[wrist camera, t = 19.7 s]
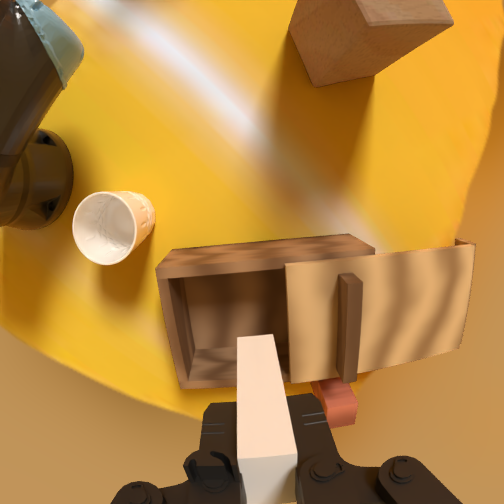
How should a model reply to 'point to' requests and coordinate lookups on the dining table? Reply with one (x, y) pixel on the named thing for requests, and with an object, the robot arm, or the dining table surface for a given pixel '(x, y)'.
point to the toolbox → (234, 301)
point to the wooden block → (361, 34)
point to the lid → (376, 310)
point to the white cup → (112, 225)
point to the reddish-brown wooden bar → (336, 401)
